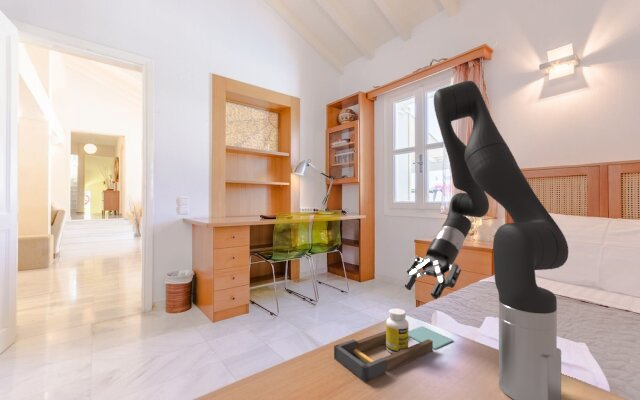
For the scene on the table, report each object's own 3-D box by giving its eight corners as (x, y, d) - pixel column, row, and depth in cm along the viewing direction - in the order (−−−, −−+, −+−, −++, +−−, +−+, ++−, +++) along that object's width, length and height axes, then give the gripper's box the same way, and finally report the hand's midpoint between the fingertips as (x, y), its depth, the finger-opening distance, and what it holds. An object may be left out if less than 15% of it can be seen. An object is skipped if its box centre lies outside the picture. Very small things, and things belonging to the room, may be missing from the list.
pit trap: (385, 373, 64) (385, 359, 64) (364, 382, 60) (364, 368, 60) (353, 351, 73) (353, 339, 73) (334, 358, 70) (334, 345, 70)
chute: (432, 351, 73) (432, 341, 73) (386, 371, 64) (386, 360, 64) (400, 334, 82) (400, 325, 82) (356, 351, 73) (356, 341, 73)
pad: (453, 341, 78) (453, 339, 78) (434, 349, 74) (434, 348, 74) (422, 327, 86) (422, 326, 86) (403, 334, 82) (403, 333, 82)
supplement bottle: (400, 358, 70) (399, 317, 70) (381, 349, 74) (381, 310, 74) (412, 350, 73) (412, 311, 73) (394, 342, 77) (394, 305, 77)
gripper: (419, 234, 89) (392, 278, 83) (464, 240, 77) (436, 291, 71) (430, 250, 92) (405, 293, 86) (475, 258, 80) (450, 308, 73)
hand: (419, 292), depth 78 cm, fingers open, 8 cm apart
